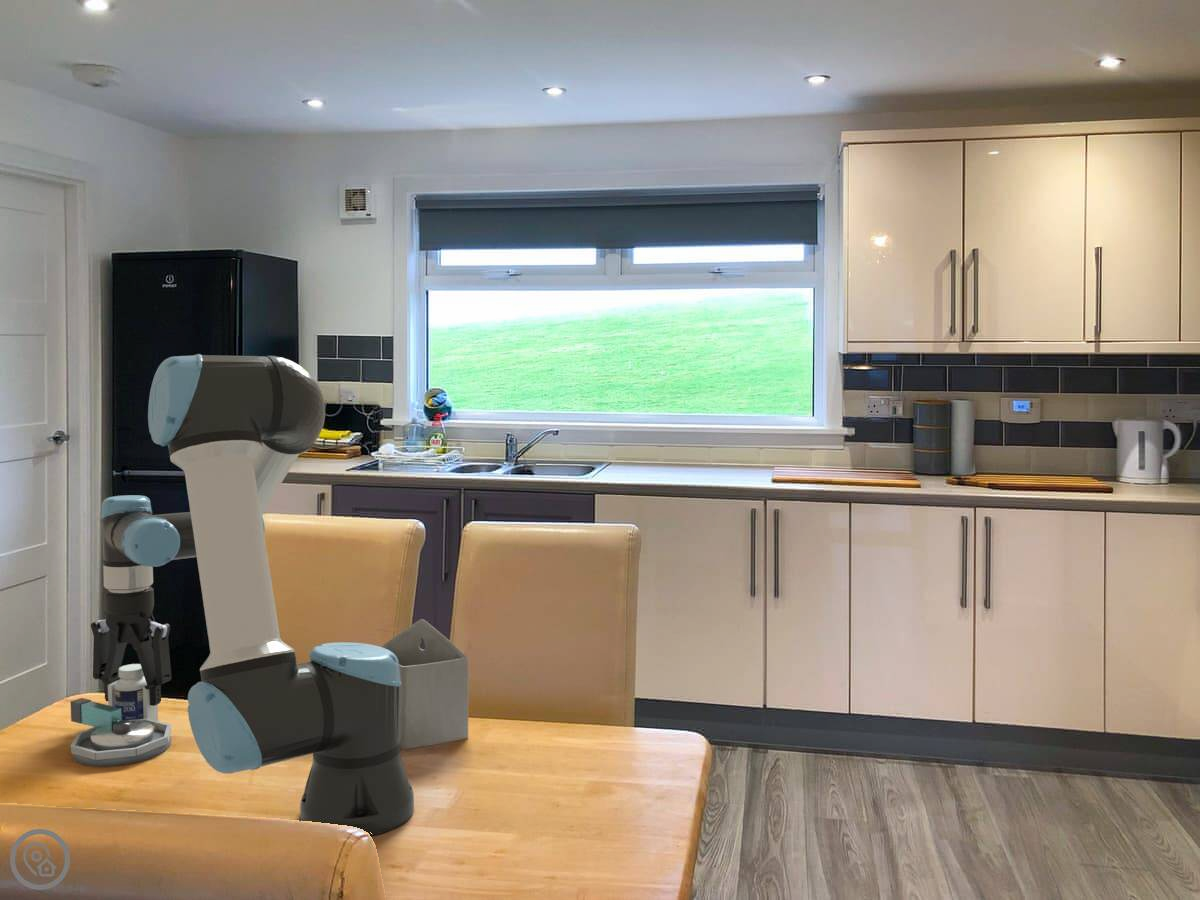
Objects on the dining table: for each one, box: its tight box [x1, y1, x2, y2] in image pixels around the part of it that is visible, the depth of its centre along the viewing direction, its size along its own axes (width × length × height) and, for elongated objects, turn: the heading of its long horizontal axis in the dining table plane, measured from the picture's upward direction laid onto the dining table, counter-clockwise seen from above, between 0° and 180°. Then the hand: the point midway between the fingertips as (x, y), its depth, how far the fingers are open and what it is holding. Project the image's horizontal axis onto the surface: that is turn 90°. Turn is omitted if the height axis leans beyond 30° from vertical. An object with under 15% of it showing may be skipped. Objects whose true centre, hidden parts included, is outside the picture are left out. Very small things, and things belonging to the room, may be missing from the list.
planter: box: [380, 618, 469, 751], centre depth 164 cm, size 16×8×19 cm, turn 75°
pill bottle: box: [115, 663, 147, 721], centre depth 172 cm, size 5×5×10 cm
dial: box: [70, 697, 154, 751], centre depth 162 cm, size 16×9×5 cm, turn 63°
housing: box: [70, 719, 172, 768], centre depth 161 cm, size 14×14×2 cm
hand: (133, 721), depth 172 cm, fingers open, 6 cm apart
